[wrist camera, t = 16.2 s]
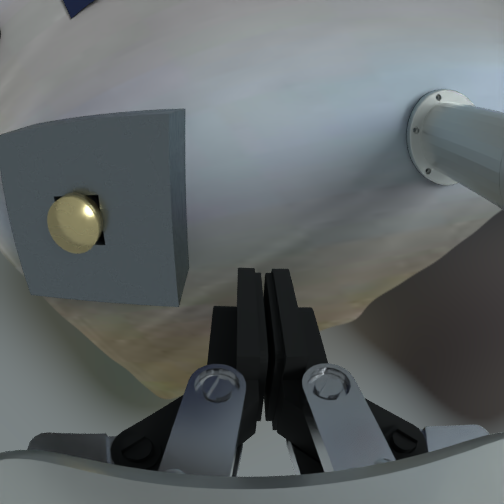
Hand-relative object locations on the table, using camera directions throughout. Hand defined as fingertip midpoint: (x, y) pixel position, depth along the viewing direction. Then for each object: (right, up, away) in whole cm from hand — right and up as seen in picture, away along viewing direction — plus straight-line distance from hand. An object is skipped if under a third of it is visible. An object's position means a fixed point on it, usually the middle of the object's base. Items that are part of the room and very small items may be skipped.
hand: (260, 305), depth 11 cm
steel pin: (-18, +9, +25) cm, 32 cm away
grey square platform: (-18, +9, +25) cm, 32 cm away
